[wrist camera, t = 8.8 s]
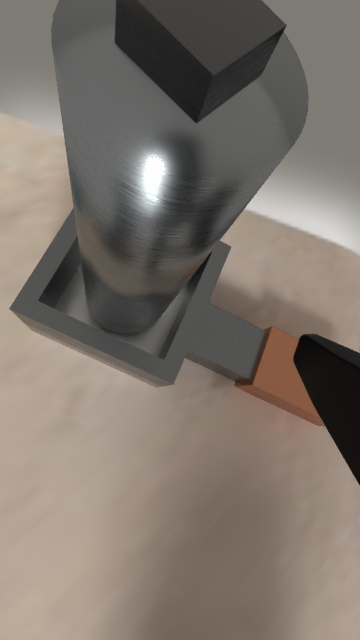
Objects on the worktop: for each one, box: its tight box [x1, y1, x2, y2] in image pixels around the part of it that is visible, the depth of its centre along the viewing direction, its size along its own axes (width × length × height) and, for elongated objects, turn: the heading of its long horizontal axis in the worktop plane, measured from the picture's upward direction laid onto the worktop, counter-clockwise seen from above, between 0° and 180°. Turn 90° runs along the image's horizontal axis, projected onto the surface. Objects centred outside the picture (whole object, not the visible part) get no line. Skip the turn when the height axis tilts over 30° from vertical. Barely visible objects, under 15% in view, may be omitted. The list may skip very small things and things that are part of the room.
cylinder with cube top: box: [51, 0, 308, 334], centre depth 11 cm, size 4×4×14 cm
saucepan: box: [9, 208, 325, 426], centre depth 17 cm, size 8×18×4 cm, turn 66°
